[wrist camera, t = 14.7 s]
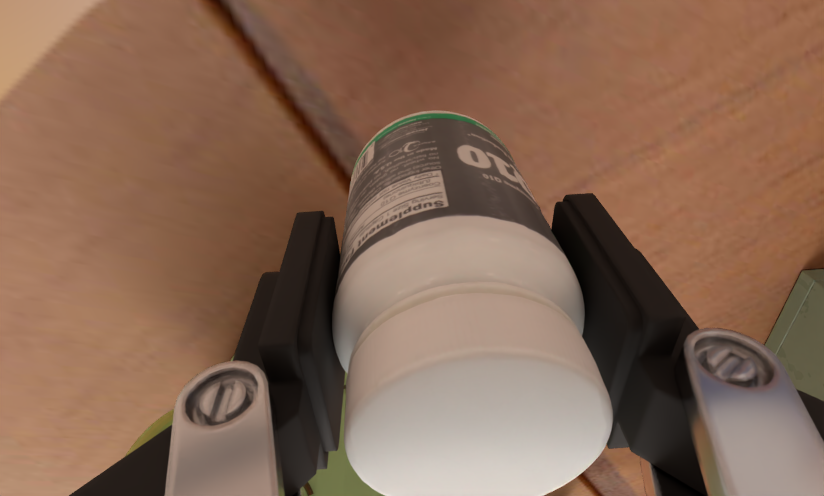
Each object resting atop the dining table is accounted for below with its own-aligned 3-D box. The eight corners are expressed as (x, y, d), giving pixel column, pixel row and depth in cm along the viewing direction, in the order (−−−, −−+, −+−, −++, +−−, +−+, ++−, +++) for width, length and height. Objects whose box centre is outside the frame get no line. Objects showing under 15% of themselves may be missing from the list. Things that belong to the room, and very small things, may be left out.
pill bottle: (535, 210, 15) (672, 474, 8) (400, 272, 16) (413, 551, 9) (472, 70, 12) (592, 275, 5) (317, 156, 13) (244, 417, 6)
